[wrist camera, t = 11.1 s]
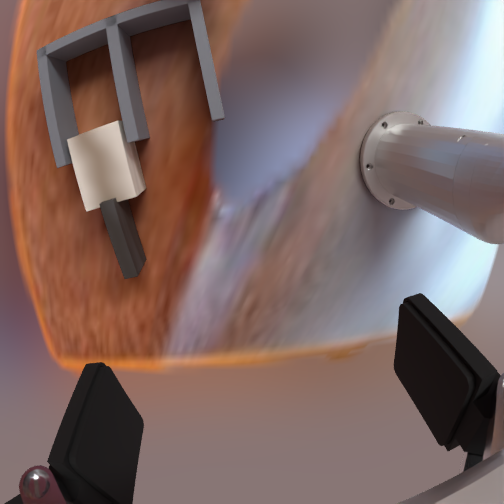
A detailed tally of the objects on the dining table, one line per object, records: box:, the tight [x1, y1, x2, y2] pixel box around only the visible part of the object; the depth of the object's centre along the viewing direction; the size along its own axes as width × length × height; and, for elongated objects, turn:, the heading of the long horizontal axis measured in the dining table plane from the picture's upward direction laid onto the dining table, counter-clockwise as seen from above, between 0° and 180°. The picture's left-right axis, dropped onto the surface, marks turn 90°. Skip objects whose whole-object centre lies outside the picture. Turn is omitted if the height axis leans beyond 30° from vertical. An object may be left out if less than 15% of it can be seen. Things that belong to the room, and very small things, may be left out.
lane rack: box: [37, 0, 225, 168], centre depth 27 cm, size 18×14×5 cm
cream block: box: [67, 121, 146, 279], centre depth 31 cm, size 6×16×6 cm, turn 11°
